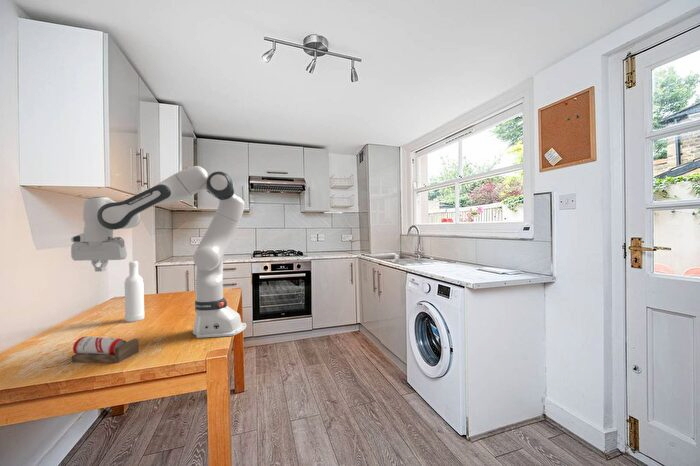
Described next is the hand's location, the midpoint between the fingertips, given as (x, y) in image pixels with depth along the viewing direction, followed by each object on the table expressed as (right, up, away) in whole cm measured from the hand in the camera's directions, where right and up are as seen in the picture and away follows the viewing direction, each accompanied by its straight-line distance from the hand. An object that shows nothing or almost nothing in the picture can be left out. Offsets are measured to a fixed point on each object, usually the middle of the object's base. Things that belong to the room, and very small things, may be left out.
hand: (100, 271), depth 114 cm
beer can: (+2, -26, -11) cm, 28 cm away
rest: (+12, -29, -11) cm, 34 cm away
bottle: (-10, -29, +31) cm, 44 cm away
